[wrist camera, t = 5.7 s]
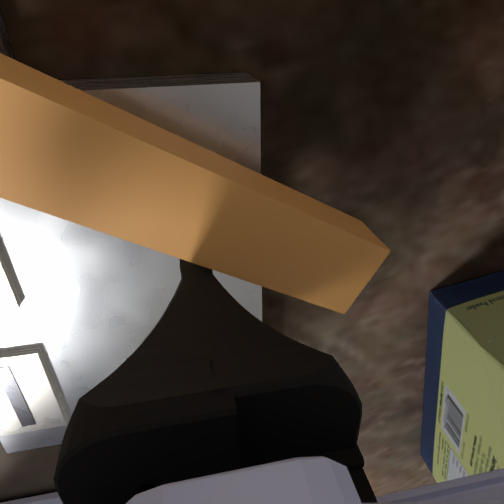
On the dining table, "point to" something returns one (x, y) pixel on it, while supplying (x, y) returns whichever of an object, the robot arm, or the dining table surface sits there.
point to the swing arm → (173, 194)
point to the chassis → (104, 263)
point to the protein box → (464, 379)
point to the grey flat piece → (5, 40)
